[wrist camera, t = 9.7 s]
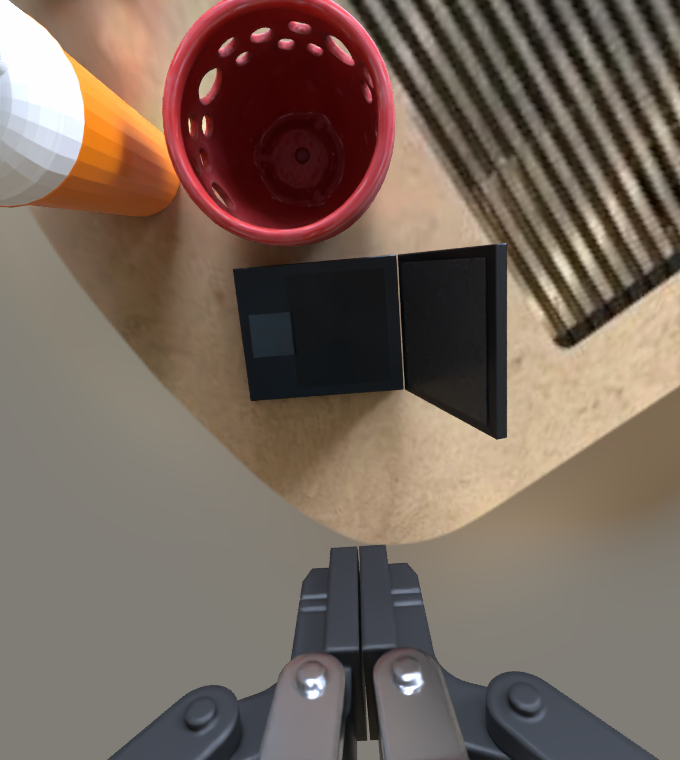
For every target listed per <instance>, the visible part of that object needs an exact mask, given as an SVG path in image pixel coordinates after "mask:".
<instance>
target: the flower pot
mask: <svg viewBox="0 0 680 760" xmlns="http://www.w3.org/2000/svg"><path fill="white" fill-rule="evenodd" d="M294 21H295V22H300V23H305V24H308V25H304V24H299V23H295V22H294ZM265 27H266V28H270V30H269V31H268V32H265V33H263V34H258V35H255V34H252V33H253V32H255V31H256V30H257V29H260V28H265ZM330 35H331V36H334V37H336V38H337V39H339V40H340V41H341V42H342V43H343V44H344V45H345V47H346V48H347V49H348V51H349V52H350V54H351V56H352V58H351V57H350V56H348V55H347V54H346V53H345V52H344V51H343V50H342V49H341V48H340V47H338V46H337V45H336V43H335V42H334V41H333V39H332V38H331V36H330ZM232 37H233V39H232V40H231V42H230V43H229V44H228V45H227V46H225V47H223V48H222V49H220V47H221V46H222V44H223V43H225V42H226V41H227V40H228V39H230V38H232ZM281 39H292V40H293V41H290V42H283V41H280V40H281ZM312 44H315V45H317V46H319V47H320V48H318V47H315V46H313V45H312ZM244 52H246V54H245V55H244V56H242V57H241V58H239V59H237V57H238V56H239V55H240V54H241V53H244ZM215 68H217V75H216V79H215V82H214V84H213V86H212V88H211V90H210V91H209V93H208V94H207V95H206V96H205V97H203V98H202V99H199V86H200V83H201V80H202V78H203V77H204V76H205V74H206V73H207V72H209V71H210V70H213V69H215ZM162 114H163V127H164V135H165V142H166V146H167V150H168V154H169V157H170V160H171V162H172V165H173V168H174V170H175V172H176V174H177V176H178V178H179V180H180V182H181V183H182V185H183V187H184V189H185V190H186V192H187V193H188V195H189V196H190V198H191V199H192V200H193V201H194V203H195V204H196V205H197V206H198V207H199V208H200V209H201V210H202V211H203V212H204V213H205V214H206V215H207V216H208V217H209V218H210V219H211V220H212V221H213V222H215V223H216V224H217V225H219V226H220V227H222V228H223V229H225V230H227V231H229V232H230V233H232V234H234V235H237V236H239V237H241V238H244V239H247V240H250V241H253V242H257V243H261V244H264V245H271V246H279V247H295V246H302V245H308V244H313V243H317V242H320V241H324V240H327V239H329V238H332V237H334V236H336V235H338V234H339V233H341V232H343V231H344V230H346V229H347V228H349V227H350V226H351V225H352V224H353V223H355V222H356V221H357V220H358V219H359V218H360V217H361V216H362V215H363V214H364V212H365V211H366V210H367V209H368V208H369V206H370V205H371V203H372V202H373V200H374V199H375V197H376V195H377V193H378V192H379V190H380V188H381V186H382V184H383V182H384V179H385V177H386V174H387V171H388V168H389V165H390V161H391V157H392V153H393V146H394V136H395V108H394V99H393V92H392V86H391V82H390V79H389V75H388V72H387V69H386V65H385V63H384V61H383V59H382V56H381V54H380V52H379V50H378V48H377V47H376V45H375V43H374V42H373V40H372V39H371V38H370V36H369V34H368V33H367V32H366V31H365V29H364V28H363V27H362V26H361V24H360V23H359V22H358V21H357V20H356V19H355V18H354V17H353V16H352V15H351V14H349V13H348V12H347V11H346V10H345V9H343V8H342V7H341V6H339V5H338V4H336V3H335V2H333V1H331V0H223V1H221V2H219V3H217V4H216V5H215V6H213V7H212V8H210V9H209V10H208V11H206V12H205V13H204V14H203V15H202V16H201V17H200V18H199V19H198V20H197V21H196V22H195V23H194V24H193V26H192V27H191V28H190V29H189V31H188V32H187V33H186V35H185V36H184V38H183V40H182V41H181V43H180V45H179V47H178V49H177V50H176V52H175V54H174V57H173V59H172V61H171V64H170V67H169V70H168V73H167V78H166V82H165V87H164V94H163V108H162ZM204 115H205V118H206V131H205V134H203V130H202V120H203V117H204ZM189 119H190V124H191V133H189V126H188V121H189ZM200 155H201V157H200ZM201 158H202V161H203V164H202V161H201ZM212 187H213V188H214V189H215V190H216V191H217V193H218V194H219V195H220V197H221V198H222V199H223V201H224V202H225V204H226V205H227V207H228V208H227V207H226V206H225V205H224V204H222V202H221V201H220V200H219V199H218V198H217V196H216V195H215V194H214V191H213V189H212Z"/></svg>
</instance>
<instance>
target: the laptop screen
mask: <svg viewBox="0 0 680 760" xmlns="http://www.w3.org/2000/svg"><path fill="white" fill-rule="evenodd" d="M398 268H399V287H400V305H401V324H402V343H403V361H404V380H405V390H407V391H409V392H411V393H413V394H414V395H416V396H418V397H420V398H422V399H424V400H425V401H427V402H429V403H431V404H433V405H435V406H436V407H438V408H440V409H442V410H444V411H445V412H447V413H449V414H451V415H453V416H455V417H456V418H458V419H460V420H462V421H464V422H466V423H467V424H469V425H471V426H473V427H475V428H477V429H478V430H480V431H482V432H484V433H486V434H488V435H489V436H491V437H493V438H495V439H497V440H498V439H502V438H507V244H506V243H504V244H493V245H483V246H474V247H464V248H455V249H445V250H436V251H427V252H417V253H408V254H398Z"/></svg>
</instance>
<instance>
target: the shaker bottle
mask: <svg viewBox="0 0 680 760" xmlns="http://www.w3.org/2000/svg"><path fill="white" fill-rule="evenodd" d="M179 182H180V180H179V178H178V176H177V174H176V172H175V170H174V168H173V165H172V162H171V160H170V157H169V154H168V150H167V146H166V142H165V136H164V134H162V133H161V132H160V131H159V130H158V129H156V128H155V127H154V126H153V125H152V124H150V123H149V122H148V121H147V120H146V119H145V118H143V117H142V116H141V115H140V114H139V113H137V112H136V111H135V110H134V109H133V108H131V107H130V106H129V105H128V104H127V103H125V102H124V101H123V100H122V99H121V98H119V97H118V96H117V95H116V94H115V93H114V92H112V91H111V90H110V89H109V88H108V87H106V86H105V85H104V84H103V83H102V82H100V81H99V80H98V79H97V78H96V77H94V76H93V75H92V74H91V73H90V72H88V71H87V70H86V69H85V68H84V67H83V66H81V65H80V64H79V63H78V62H77V61H75V60H74V59H73V58H72V57H71V56H69V55H68V54H67V53H66V52H65V51H64V50H63V49H62V47H61V45H60V44H59V43H58V42H57V41H56V40H55V39H54V37H53V36H52V35H51V34H50V33H49V32H48V31H47V30H46V29H45V28H44V27H43V26H42V25H40V24H39V23H38V22H37V21H35V20H34V19H33V18H32V17H30V16H29V15H27V14H26V13H24V12H22V11H21V10H20V9H18V8H17V7H16V6H14V5H13V4H12V3H10V2H9V1H8V0H0V207H18V206H25V205H33V206H43V207H52V208H61V209H70V210H80V211H89V212H98V213H108V214H117V215H126V216H137V217H145V216H151V215H153V214H156V213H158V212H160V211H161V210H163V209H165V208H166V207H167V206H168V205H169V204H170V203H171V201H172V200H173V198H174V197H175V195H176V193H177V190H178V187H179Z"/></svg>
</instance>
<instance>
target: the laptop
mask: <svg viewBox="0 0 680 760" xmlns="http://www.w3.org/2000/svg"><path fill="white" fill-rule="evenodd" d="M233 273H234V281H235V288H236V296H237V303H238V310H239V318H240V325H241V332H242V340H243V347H244V354H245V362H246V369H247V377H248V384H249V391H250V399H251V401H258V400H271V399H284V398H298V397H311V396H324V395H337V394H350V393H364V392H377V391H390V390H403V370H402V352H401V333H400V315H399V297H398V278H397V260H396V255H387V256H375V257H364V258H353V259H341V260H330V261H319V262H307V263H296V264H284V265H273V266H262V267H250V268H239V269H233Z"/></svg>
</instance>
